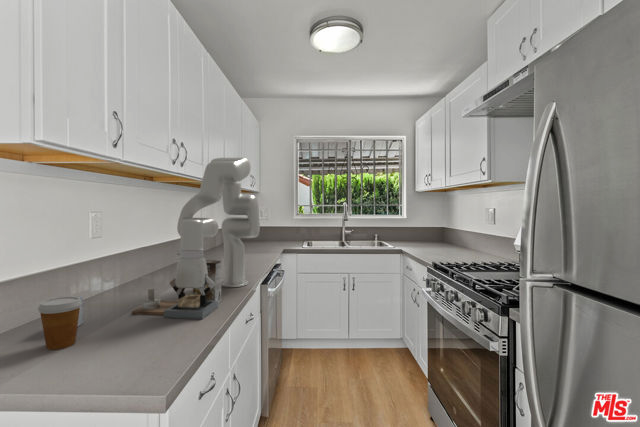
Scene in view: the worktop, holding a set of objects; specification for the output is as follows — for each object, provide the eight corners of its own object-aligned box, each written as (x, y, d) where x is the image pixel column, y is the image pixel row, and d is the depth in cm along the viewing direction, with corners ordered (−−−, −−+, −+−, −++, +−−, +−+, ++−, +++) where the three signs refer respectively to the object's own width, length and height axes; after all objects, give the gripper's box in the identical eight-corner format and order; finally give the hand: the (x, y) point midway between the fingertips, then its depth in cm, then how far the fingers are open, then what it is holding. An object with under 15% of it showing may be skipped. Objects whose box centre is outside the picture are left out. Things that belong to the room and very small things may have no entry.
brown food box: (192, 304, 133) (191, 262, 133) (199, 300, 140) (199, 259, 139) (215, 305, 132) (215, 262, 132) (222, 300, 139) (221, 260, 138)
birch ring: (177, 307, 120) (177, 299, 120) (190, 299, 129) (190, 293, 129) (197, 307, 120) (197, 300, 120) (208, 300, 129) (208, 293, 129)
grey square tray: (183, 306, 131) (183, 299, 131) (218, 307, 129) (218, 300, 129) (164, 317, 118) (164, 310, 118) (202, 319, 116) (202, 311, 116)
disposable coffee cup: (28, 352, 90) (27, 305, 90) (58, 338, 100) (57, 295, 100) (64, 352, 90) (63, 306, 90) (90, 338, 99) (90, 296, 99)
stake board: (154, 302, 136) (154, 283, 135) (184, 303, 134) (184, 284, 134) (131, 314, 122) (131, 292, 121) (164, 315, 120) (164, 293, 120)
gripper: (162, 255, 120) (163, 307, 121) (211, 256, 118) (212, 309, 119) (173, 252, 128) (174, 301, 128) (220, 253, 126) (220, 303, 126)
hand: (192, 305), depth 124 cm, fingers closed on birch ring, 7 cm apart
